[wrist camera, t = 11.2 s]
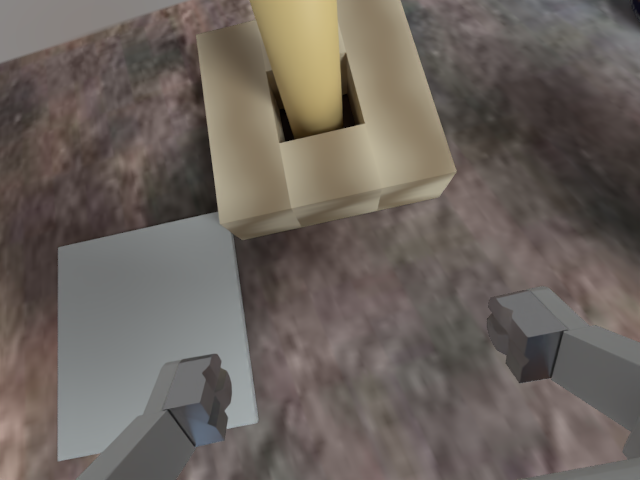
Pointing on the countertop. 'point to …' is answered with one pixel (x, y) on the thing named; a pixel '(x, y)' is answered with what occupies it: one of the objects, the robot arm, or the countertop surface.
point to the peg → (304, 61)
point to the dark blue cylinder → (636, 8)
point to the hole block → (327, 148)
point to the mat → (145, 325)
